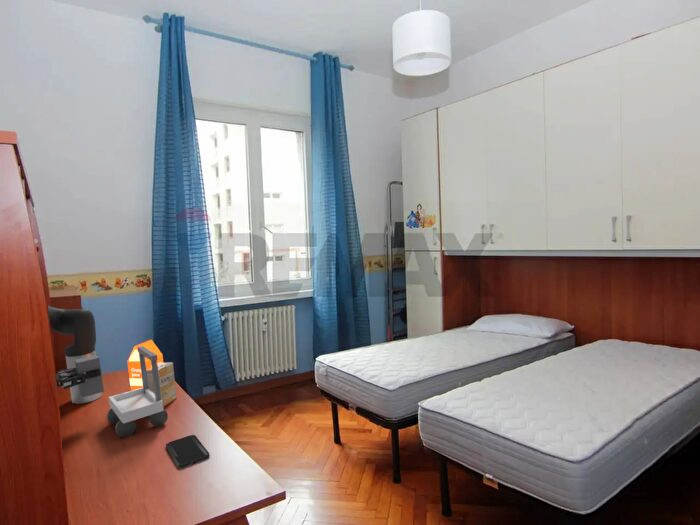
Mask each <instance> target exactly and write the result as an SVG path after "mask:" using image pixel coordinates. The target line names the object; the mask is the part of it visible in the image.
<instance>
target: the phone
mask: <svg viewBox="0 0 700 525" xmlns="http://www.w3.org/2000/svg"><path fill="white" fill-rule="evenodd" d="M165 449H166V451H167V452H168V454H169V455H170V457H171V459H172V460H173V462H174V464H175V466H176V467H177V468H178V469H184V468H186V467H189V466H192V465H195V464H197V463H201V462H203V461H206V460H208V459H209V458H210V456H211V455H210V453H209V451H208V450H207V448H205V446H204V445H203V444H202V442H201V440H199V438H198V437H197V436H196V435H195V434H191V435H190V434H189V435H187V436H183V437H180V438H177V439H174V440H172V441H168V442H167V443H166V444H165Z"/></svg>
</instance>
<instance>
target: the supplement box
mask: <svg viewBox="0 0 700 525" xmlns="http://www.w3.org/2000/svg"><path fill="white" fill-rule="evenodd" d="M174 371H175V370H174V362H163V363H160V364H158V374H159V382H160V390H161V398H162V402H163V408H164V407H166V406H167V405H168V404H170V403H171V402H172V401H174V400H177V390H176V381H175V380H176V379H175V372H174ZM147 378H148V386H149V390H150V391H152V392H153V393H154V394H155V390H154V382H153V374H152V368H150V369H148V370H147Z"/></svg>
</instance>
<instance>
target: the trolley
mask: <svg viewBox="0 0 700 525" xmlns="http://www.w3.org/2000/svg"><path fill="white" fill-rule="evenodd" d="M137 348H138V352H139V358H140V366H141V374H142V382H143V388H139V389H135V390H132V391H131V390H130V391H125V392H122V393H118V394H115V395H111V396H108V402H109V403H108V404H109V407H110V409H109V410H108V412H107V414H106V419H107V421H108V423H110V424H111V425H115V427H114V431H115V433H116V434H117V436H119V437H120V438H124V439H125V437H126V438H128V436H129V437H131V436H132V435H133V434H134V433H135V430H136V428H137V427H136V426H137V425H136V423H135V421H136V420H138V419H141V418H142V419H143V418H145V417H148V422H149V423H150V424H151V425H152V426H153V427H161V426H164V425H165V423H166V422H167V421H168V418H169V416H168V412H167V411H166V410H165V409H164V407H163V402H162V398H161V390H160V382H159V374H158V365H157V360H158V359H157V355H156V354H155V353H153V352H152V351H150V350H148V349H147V348H145V347H144V346H140V347H137ZM145 357H146V358H147V359H149V360H150V361H151V365H152V374H153V382H154V390H155V394H154V393H153V392H152V391H150V390H149V386H148V378H147V370H146V362H145Z"/></svg>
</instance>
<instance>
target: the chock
mask: <svg viewBox="0 0 700 525" xmlns="http://www.w3.org/2000/svg"><path fill="white" fill-rule="evenodd" d="M75 365H76V371H77V372H78V373H82V372H87V371H91V370H95V369H100V371H101V372H102V368H101V360H100V357H99V356H98V355H97V354H96V355H94V356H90V357H86V358H81V359H77V360H75ZM78 379H81V378H78ZM103 382H104V381H103V376H102V373H101V375H100V376H98V377H94V378H90V379H87V380H86V382H85V383H81V384H78V386H79V392H80V395H81V397H82V398H83V397H86V396H90V395H94V394H97V393H101V394H102V393H104V392H105V391H104V390H105V388H104V383H103Z"/></svg>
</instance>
